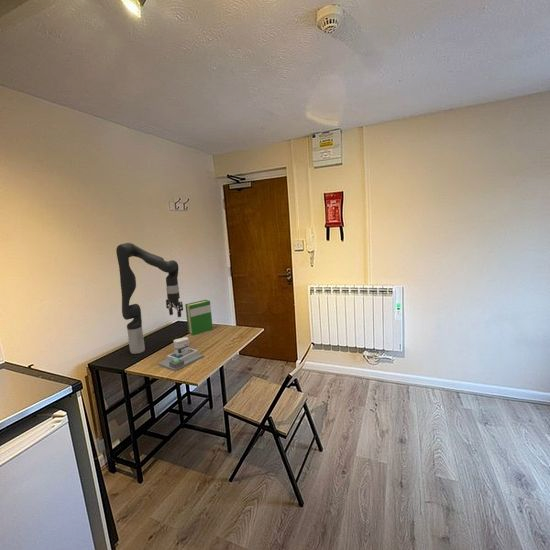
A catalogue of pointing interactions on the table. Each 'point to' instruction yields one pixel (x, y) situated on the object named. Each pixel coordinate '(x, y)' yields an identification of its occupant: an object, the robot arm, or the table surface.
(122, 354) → the table surface
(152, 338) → the table surface
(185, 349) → the ink box
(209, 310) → the hardback book
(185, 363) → the grey tray
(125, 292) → the robot arm
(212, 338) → the table surface
